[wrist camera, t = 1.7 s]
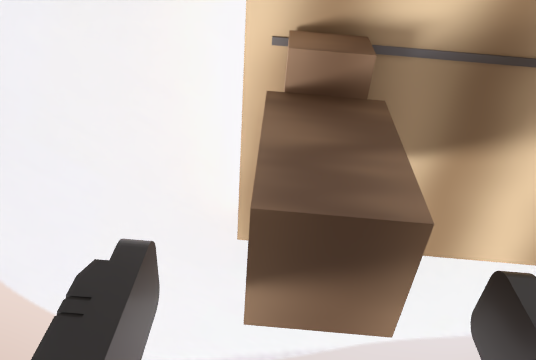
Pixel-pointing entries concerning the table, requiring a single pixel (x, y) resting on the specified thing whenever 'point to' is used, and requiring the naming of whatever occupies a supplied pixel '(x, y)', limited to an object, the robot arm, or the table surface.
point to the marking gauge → (332, 198)
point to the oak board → (428, 107)
